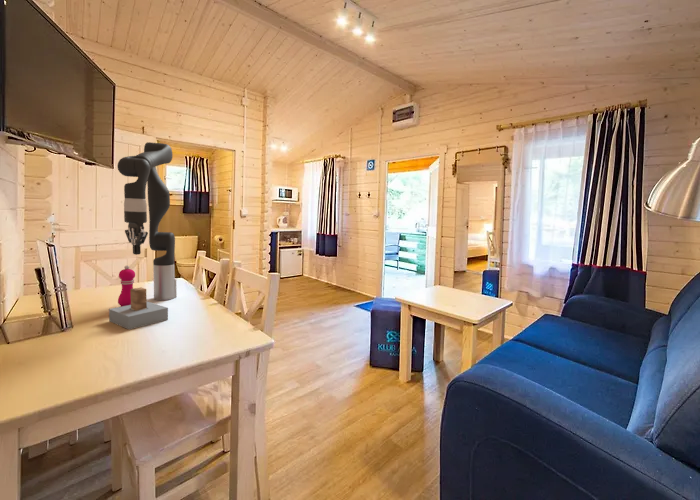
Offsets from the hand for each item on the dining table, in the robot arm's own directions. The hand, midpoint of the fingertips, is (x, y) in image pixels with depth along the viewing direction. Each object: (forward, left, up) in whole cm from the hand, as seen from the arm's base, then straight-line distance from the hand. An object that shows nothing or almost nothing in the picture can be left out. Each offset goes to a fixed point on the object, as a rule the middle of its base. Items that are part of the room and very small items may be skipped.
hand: (136, 254), depth 136 cm
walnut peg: (0, +1, -26) cm, 26 cm away
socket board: (0, +1, -27) cm, 27 cm away
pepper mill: (-4, -16, -27) cm, 32 cm away
